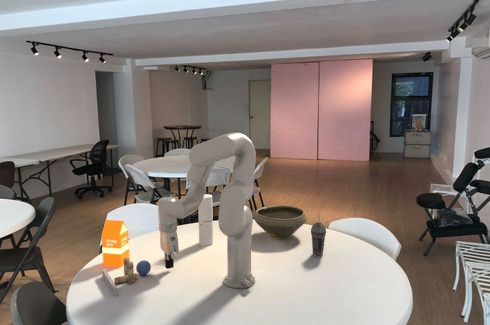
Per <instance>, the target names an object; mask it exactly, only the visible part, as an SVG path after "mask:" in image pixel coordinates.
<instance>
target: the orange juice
mask: <svg viewBox="0 0 490 325" xmlns="http://www.w3.org/2000/svg"><path fill="white" fill-rule="evenodd" d="M101 243H102V244H101V245H102V249H101V250H102V262H103V264H102V265H103V266H105V267H115V268H117V267H118V268H122V267H124V262H123V261H124V258H130V242H129V229H128V227H127V226H126V223H125V221H124V220H114V219H105V222H104V225H103V229H102V232H101Z"/></svg>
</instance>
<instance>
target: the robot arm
mask: <svg viewBox="0 0 490 325" xmlns="http://www.w3.org/2000/svg"><path fill="white" fill-rule="evenodd" d="M233 156H234V161H233V165H232V174H231V181H230V183H228V184H226V185H225V186H224V187H223V189H222V191H221V193H220V197H219V198H220V199H219V209H218V210H219V211H218V220H217V221H218V228H219V230H220V232H221V233H222V234H223V235H224V236H226V238H227V240H226V241H227V247H226V248H227V252H226V254H227V259H226V260H227V275H225V276H224V278H223V283H224V285H225V286H227V287H229V288H232V289H247V288H250V287H251V286H253V285H254V284H255V283H256V278H255V276H254V275H253V274H252V231H253V224H254V223H253V219H254V215H253V213H252V210H251V209H250V207H249V206H247V205H246V203H248V202H249V201H250V200H251V199H252V197H253V193H254V183H255V170H256V162H257V161H256V159H257V152H256V147H255V145H254V143H253V141H252V139H250V138H249V137H248V136H247V135H245V134H243V133H241V132H230V133H224V134H222V135H219V136H216V137H214V138H211V139H208V140H206V141H204V142H201V143H198V144H195V145H194V146H192V148H190V150H189V153H188V159H189V163H190V167H189V168H188V171H187V173H186V177H187V180H189V182H190V184H189V185H190V186H189V187H188V190H187V193H186V194H185V196H184V197H182V198H180V199H178V200H176V198H175V197H172V196H163V197H161V198H159V199H158V200H157V212H158V213H157V214H158V231H159V232H160V233H159V234H160V236H159V237H160V238H159V239H160V240H159V242H160V243H159V244H160V249H161V251H162V252H163V253H164V267H165V269H167V270H169V269H172V268H174V265H175V264H174V259H175V258H176V254H179V253H180V249H179V248H180V247H179V239H178V232H177V230H178V220H177V219H179V220H181V219H184V218H185V219H186V217H188V216H190V215H191V214H193V213H195V212H196V211H197V210H198V207H199V206H200V204H201V201H202V199H203V197H204V195H205V194H206V191H207V190H206V188H207V182H208V179H209V178H210V176H211V174H212V171H213V168H214V166H216V163H217V162H219V161H223V160H225V159H228V158H231V157H233Z"/></svg>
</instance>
